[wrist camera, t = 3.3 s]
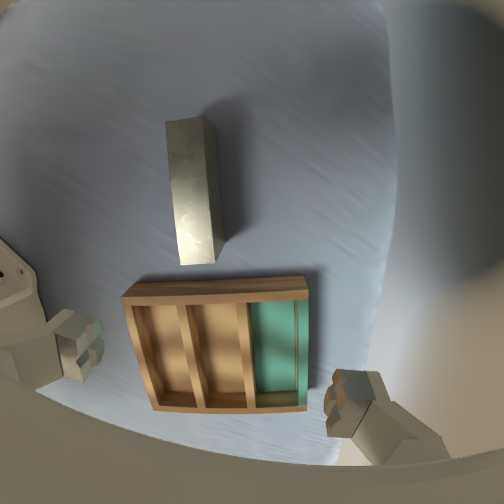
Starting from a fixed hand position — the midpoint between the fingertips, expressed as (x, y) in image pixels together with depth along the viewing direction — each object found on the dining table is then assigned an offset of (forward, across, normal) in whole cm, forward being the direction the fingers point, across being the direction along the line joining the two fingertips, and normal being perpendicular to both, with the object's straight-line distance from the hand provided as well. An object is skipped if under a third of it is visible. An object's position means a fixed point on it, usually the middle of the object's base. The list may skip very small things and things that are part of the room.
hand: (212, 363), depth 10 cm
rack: (+23, -1, -15) cm, 27 cm away
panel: (+24, -6, +3) cm, 24 cm away
